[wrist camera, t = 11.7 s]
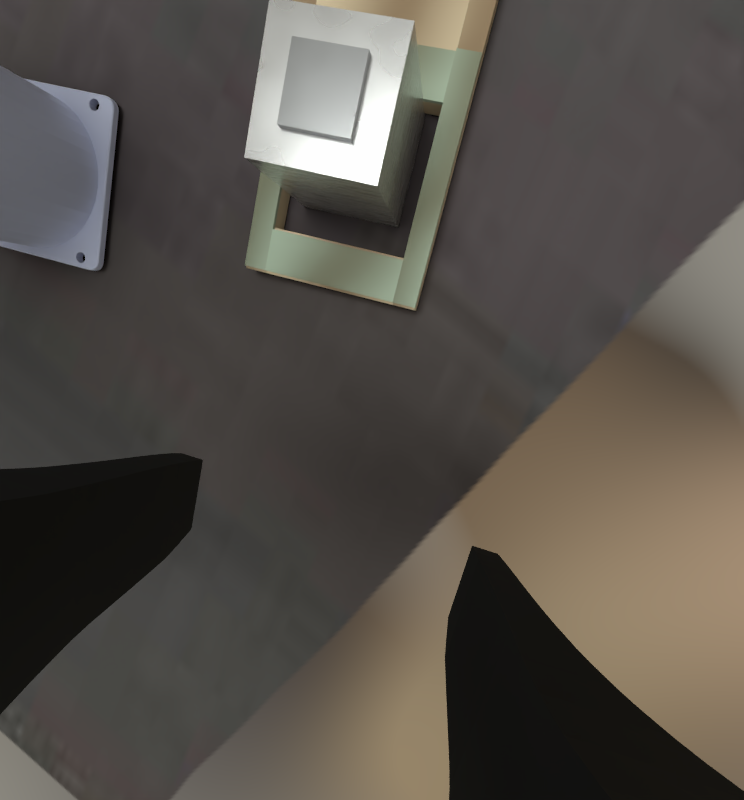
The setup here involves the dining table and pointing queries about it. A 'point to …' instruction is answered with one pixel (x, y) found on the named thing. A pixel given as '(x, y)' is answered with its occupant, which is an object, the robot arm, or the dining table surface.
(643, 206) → the dining table surface
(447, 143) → the wooden peg board
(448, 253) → the dining table surface
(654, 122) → the dining table surface
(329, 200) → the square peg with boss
